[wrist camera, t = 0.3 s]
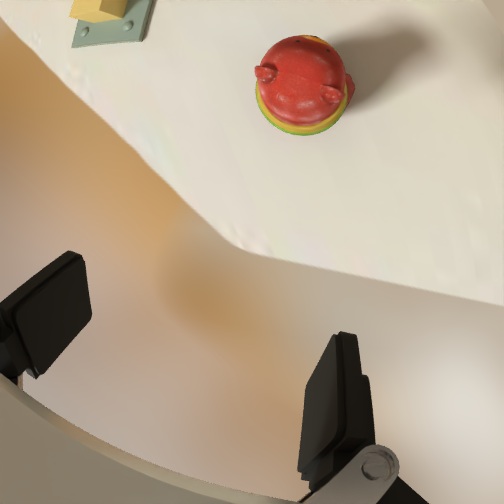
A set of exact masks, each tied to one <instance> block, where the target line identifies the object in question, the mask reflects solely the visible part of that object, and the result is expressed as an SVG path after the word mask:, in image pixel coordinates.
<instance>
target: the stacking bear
mask: <svg viewBox="0 0 504 504" xmlns="http://www.w3.org/2000/svg"><path fill="white" fill-rule="evenodd" d="M255 75H256V77H257V82H256V99H257V103H258V106H259V108H260V110H261V112H262V113H263V115H264V116H265V118H266V119H267V120H268V121H269V122H270V123H271V124H273V125H274V126H275V127H277V128H278V129H280V130H282V131H284V132H287V133H290V134H293V135H302V136H305V135H314V134H318V133H321V132H323V131H325V130H327V129H329V128H330V127H331V126H333V125H334V124H335V123H336V122H337V121H338V120H339V118H340V117H341V115H342V114H343V112H344V110H345V108H346V106H347V105H348V103H349V101H350V99H351V97H352V95H353V92H354V89H355V85H354V83H353V82H352V78H351V76H350V75H348V74H345V68H344V65H343V62H342V60H341V58H340V56H339V55H338V53H337V52H336V51H335V49H334V48H333V47H331V46H330V45H329V44H328V43H327V42H325V41H324V40H322V39H320V38H318V37H316V36H309V35H299V36H292V37H288V38H286V39H283V40H281V41H279V42H278V43H276V44H275V45H274V46H272V47H271V48H270V49H269V50H268V52H267V53H266V54H265V56H264V58H263V59H262V61H261V64H260V66H256V67H255Z"/></svg>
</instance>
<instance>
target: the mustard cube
mask: <svg viewBox="0 0 504 504" xmlns="http://www.w3.org/2000/svg"><path fill="white" fill-rule="evenodd" d="M127 2H128V0H74V2H73V5H72V9H71V12H70V15H69V17H71V18H75V19H80V20H84V21H88V22H91V23H97V22H103V21H109V20H116V19H123V15H124V12H125V8H126V5H127Z"/></svg>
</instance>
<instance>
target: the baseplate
mask: <svg viewBox="0 0 504 504" xmlns="http://www.w3.org/2000/svg"><path fill="white" fill-rule="evenodd" d="M152 2H153V0H128V2H127V5H126V8H125V12H124V15H123V19H116V20H109V21H103V22H97V23H91V22H88V21H84V20H80V19H78V23H77V27H76V31H75V35H74V39H73V43H72V48H79V47H86V46H94V45H102V44H112V43H125V42H142V39H143V35H144V31H145V27H146V23H147V20H148V16H149V13H150V9H151V6H152Z"/></svg>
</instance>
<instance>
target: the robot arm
mask: <svg viewBox="0 0 504 504" xmlns="http://www.w3.org/2000/svg"><path fill="white" fill-rule="evenodd" d="M91 317H92V310H91V304H90V297H89V290H88V283H87V276H86V266H85V261H84V260H83V257H82V255H80V254H78V253H75V252H73V251H67V252H65V253H64V254H62V255H61V256H59V257H58V258H57V259H55V260H54V261H53V262H51V263H50V264H49V265H47V266H46V267H44V268H43V269H42V270H41V271H39V272H38V273H37V274H35V275H34V276H33V277H31V278H30V279H29V280H28V281H26V282H25V283H24V284H23V285H21V286H20V287H19V288H17V290H15V291H14V292H13V293H11V294H10V295H9V296H8V297H6V299H4V300H3V301H2V302H1V303H0V504H429V503H427V501H425V500H424V499H423V498H422V497H421V496H420V495H419V494H417V493H416V492H415V491H414V490H413V489H412V488H411V487H409V486H408V485H407V484H406V483H405V482H404V481H403V480H402V479H400V478H399V477H398V474H399V461H398V459H397V457H396V455H395V454H394V453H393V452H392V450H390V449H389V448H387V447H385V446H382V445H376V443H375V430H374V418H373V408H372V399H371V390H370V383H369V378H368V376H367V375H362V370H361V362H360V354H359V347H358V340H357V336H356V335H355V334H350V333H346V332H342V331H340V332H339V333H338V335H335V334H333V335H332V337H331V339H330V341H329V343H328V345H327V347H326V349H325V351H324V353H323V355H322V356H321V359H320V360H319V362H318V364H317V366H316V368H315V370H314V371H313V374H312V375H311V377H310V379H309V381H308V383H307V385H306V389H305V398H304V410H303V422H302V432H301V441H300V450H299V459H298V467H297V469H298V472H301V473H302V477H301V480H305V481H309V489H310V490H311V491H310V492H309V493H307V494H306V495H305V496H304V497H302V498H301V499H300V500H299V501H297V502H293V501H288V500H283V499H278V498H273V497H268V496H263V495H257V494H253V493H248V492H244V491H240V490H235V489H231V488H227V487H224V486H220V485H216V484H212V483H209V482H206V481H202V480H199V479H195V478H192V477H189V476H186V475H183V474H180V473H177V472H174V471H172V470H169V469H166V468H163V467H160V466H158V465H156V464H153V463H151V462H148V461H146V460H143V459H141V458H139V457H136V456H134V455H132V454H130V453H127V452H125V451H123V450H121V449H119V448H117V447H115V446H112V445H110V444H108V443H106V442H104V441H102V440H101V439H99V438H97V437H95V436H93V435H91V434H89V433H88V432H86V431H84V430H82V429H80V428H79V427H77V426H75V425H74V424H72V423H70V422H68V421H67V420H65V419H64V418H62V417H60V416H59V415H57V414H56V413H54V412H52V411H51V410H50V409H48V408H47V407H45V406H44V405H42V404H41V403H39V402H38V401H36V400H35V399H34V398H32V397H31V396H29V395H28V394H27V393H25V392H24V391H23V372H24V371H25V370H26V372H27V373H28V374H29V375H30V376H32V377H33V378H35V379H37V378H38V377H39V375H42V374H44V373H45V372H46V371H47V369H48V368H49V367H50V366H51V365H52V364H53V362H54V361H55V360H56V359H57V358H58V356H59V355H60V354H61V353H62V352H63V351H64V349H65V348H66V347H67V346H68V345H69V344H70V343H71V341H72V340H73V339H74V338H75V337H76V336H77V335H78V333H79V332H80V331H81V330H82V329H83V328H84V327H85V326H86V325H87V323H88V322H89V321H90V320H91Z"/></svg>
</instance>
